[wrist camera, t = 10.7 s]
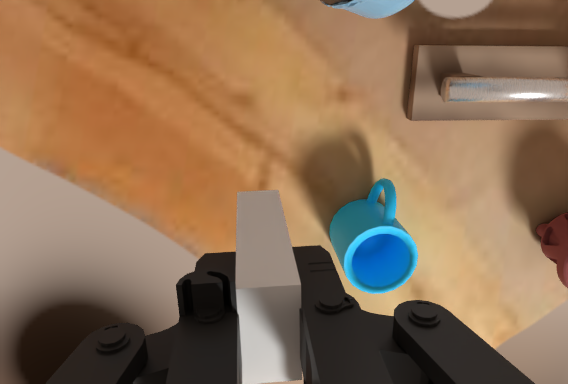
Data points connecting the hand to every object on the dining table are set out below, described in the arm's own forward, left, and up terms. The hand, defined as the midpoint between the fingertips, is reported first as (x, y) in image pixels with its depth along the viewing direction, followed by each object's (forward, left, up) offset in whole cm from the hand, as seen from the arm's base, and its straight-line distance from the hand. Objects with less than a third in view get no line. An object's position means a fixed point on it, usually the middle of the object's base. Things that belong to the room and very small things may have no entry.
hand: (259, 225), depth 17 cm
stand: (-2, +34, -34) cm, 49 cm away
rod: (-2, +34, -29) cm, 45 cm away
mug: (+14, +14, -35) cm, 40 cm away
